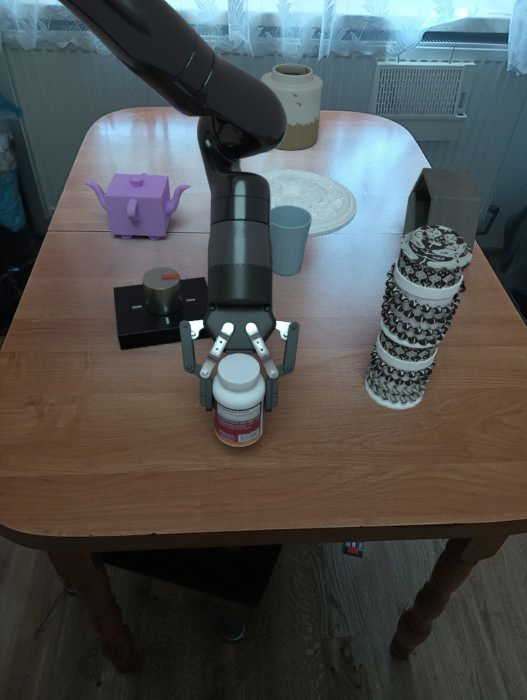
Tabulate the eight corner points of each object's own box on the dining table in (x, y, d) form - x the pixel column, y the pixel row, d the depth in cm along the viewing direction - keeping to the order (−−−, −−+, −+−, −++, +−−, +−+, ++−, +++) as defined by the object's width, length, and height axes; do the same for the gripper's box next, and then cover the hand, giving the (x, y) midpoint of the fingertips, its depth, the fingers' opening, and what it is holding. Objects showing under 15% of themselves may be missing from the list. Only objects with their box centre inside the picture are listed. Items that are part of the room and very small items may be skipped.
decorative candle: (382, 355, 82) (420, 207, 65) (437, 385, 78) (494, 234, 61) (349, 389, 77) (382, 237, 60) (407, 422, 73) (460, 269, 56)
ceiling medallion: (224, 236, 105) (224, 222, 103) (227, 172, 126) (227, 158, 123) (366, 238, 107) (369, 224, 104) (346, 174, 127) (348, 161, 125)
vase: (257, 149, 135) (259, 77, 124) (260, 125, 147) (262, 58, 135) (318, 152, 135) (325, 81, 124) (316, 128, 147) (323, 61, 135)
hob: (120, 350, 81) (117, 334, 79) (115, 301, 89) (112, 286, 87) (218, 336, 84) (218, 321, 82) (205, 290, 92) (204, 275, 90)
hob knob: (146, 316, 82) (142, 288, 79) (145, 294, 86) (141, 266, 83) (183, 313, 83) (181, 285, 79) (180, 291, 87) (178, 264, 83)
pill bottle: (227, 403, 70) (226, 341, 62) (271, 419, 68) (275, 357, 61) (204, 438, 66) (201, 376, 58) (250, 456, 64) (252, 395, 57)
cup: (256, 262, 99) (258, 211, 92) (290, 251, 102) (294, 201, 95) (279, 284, 95) (283, 232, 88) (314, 271, 98) (320, 220, 91)
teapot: (125, 257, 99) (116, 203, 91) (91, 227, 106) (80, 174, 98) (194, 231, 106) (191, 179, 99) (157, 204, 113) (152, 154, 106)
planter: (401, 210, 106) (432, 147, 86) (440, 213, 105) (481, 151, 85) (399, 292, 102) (432, 246, 82) (440, 295, 102) (483, 250, 81)
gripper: (173, 259, 58) (172, 414, 58) (305, 261, 59) (305, 414, 59) (181, 271, 66) (179, 408, 66) (298, 272, 67) (297, 408, 66)
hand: (239, 410), depth 62 cm, fingers closed on pill bottle, 6 cm apart
